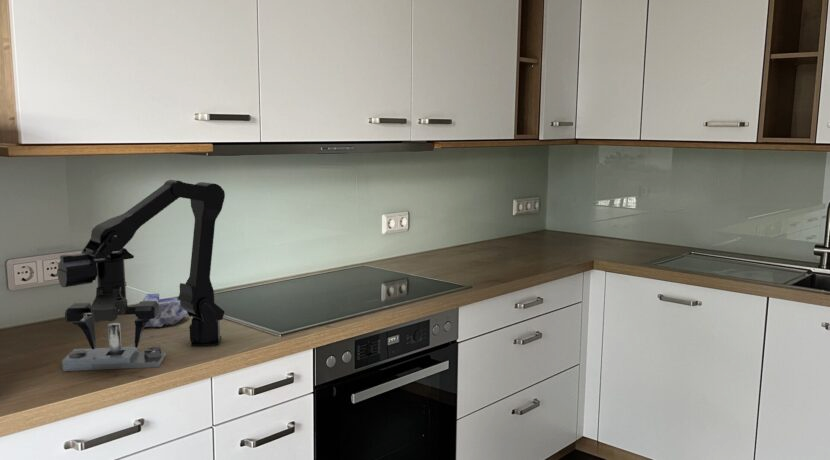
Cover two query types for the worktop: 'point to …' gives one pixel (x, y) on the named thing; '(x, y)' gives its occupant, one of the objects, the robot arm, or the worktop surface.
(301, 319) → the worktop surface
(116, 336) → the pin
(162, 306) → the mineral
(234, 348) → the worktop surface
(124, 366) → the grey bolted bracket plate
